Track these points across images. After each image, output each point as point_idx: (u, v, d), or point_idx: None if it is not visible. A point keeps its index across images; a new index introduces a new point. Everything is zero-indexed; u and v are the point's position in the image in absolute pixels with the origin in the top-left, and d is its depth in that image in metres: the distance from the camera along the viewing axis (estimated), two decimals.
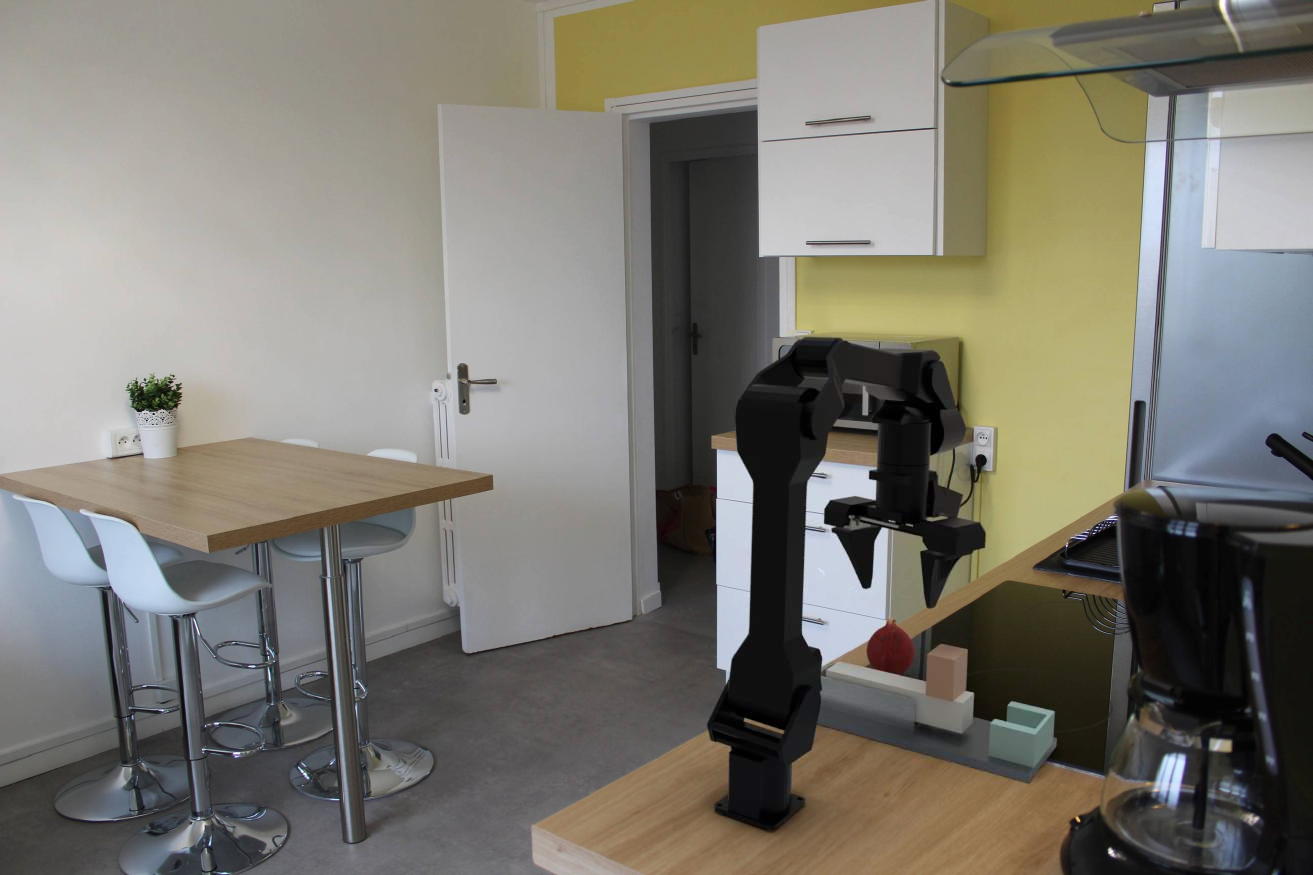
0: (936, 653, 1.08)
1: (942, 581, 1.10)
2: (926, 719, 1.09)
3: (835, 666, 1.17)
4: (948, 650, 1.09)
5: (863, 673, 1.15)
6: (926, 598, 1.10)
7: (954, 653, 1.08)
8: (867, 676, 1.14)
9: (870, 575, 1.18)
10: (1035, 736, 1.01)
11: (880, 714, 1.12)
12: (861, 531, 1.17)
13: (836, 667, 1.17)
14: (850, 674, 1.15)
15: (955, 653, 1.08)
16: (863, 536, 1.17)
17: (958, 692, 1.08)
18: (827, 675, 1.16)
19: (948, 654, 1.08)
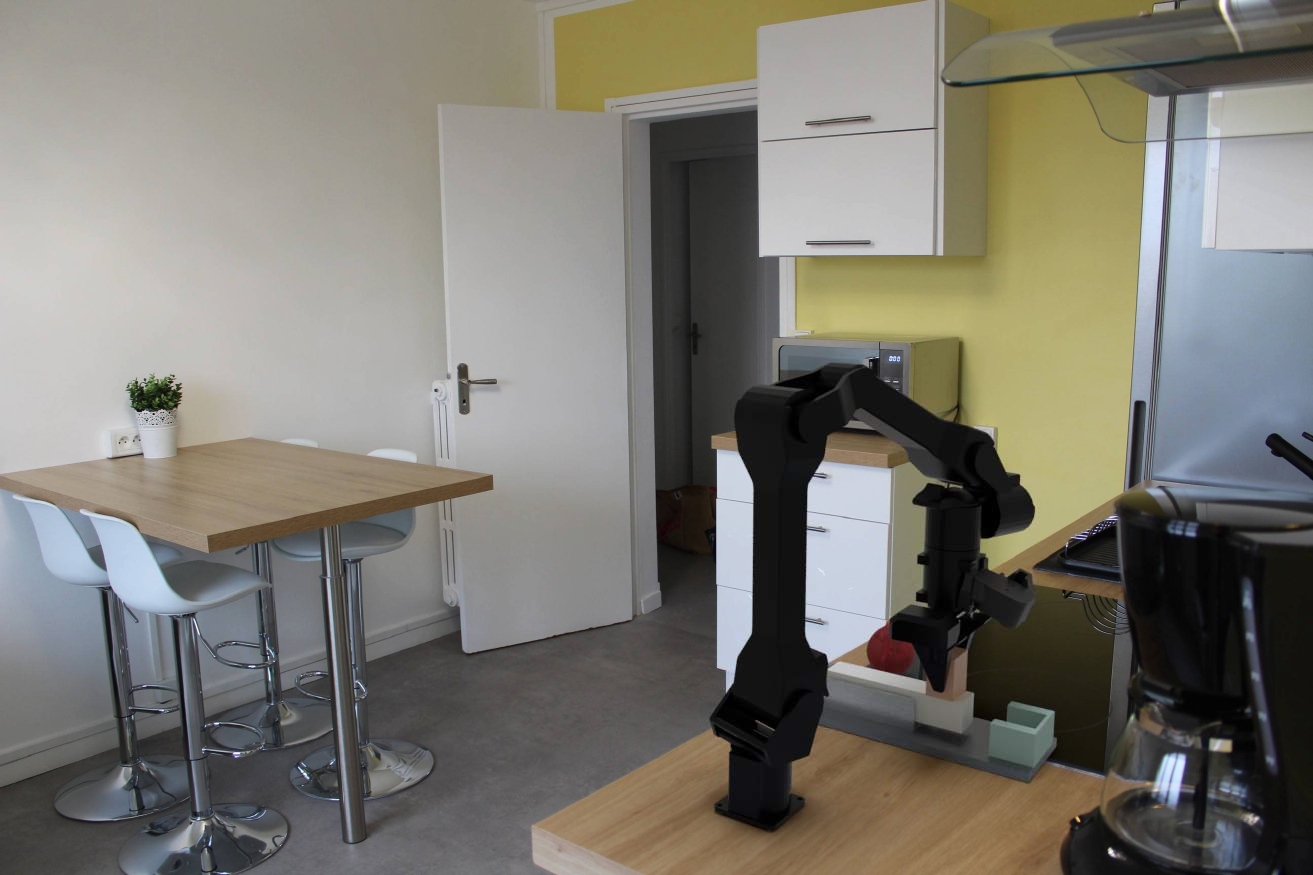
0: None
1: (939, 666, 1.06)
2: (926, 719, 1.09)
3: (835, 666, 1.17)
4: None
5: (863, 673, 1.15)
6: None
7: (954, 653, 1.08)
8: (867, 676, 1.14)
9: None
10: (1035, 736, 1.01)
11: (880, 714, 1.12)
12: None
13: (836, 667, 1.17)
14: (850, 674, 1.15)
15: (955, 653, 1.08)
16: None
17: (958, 692, 1.08)
18: (827, 675, 1.16)
19: None
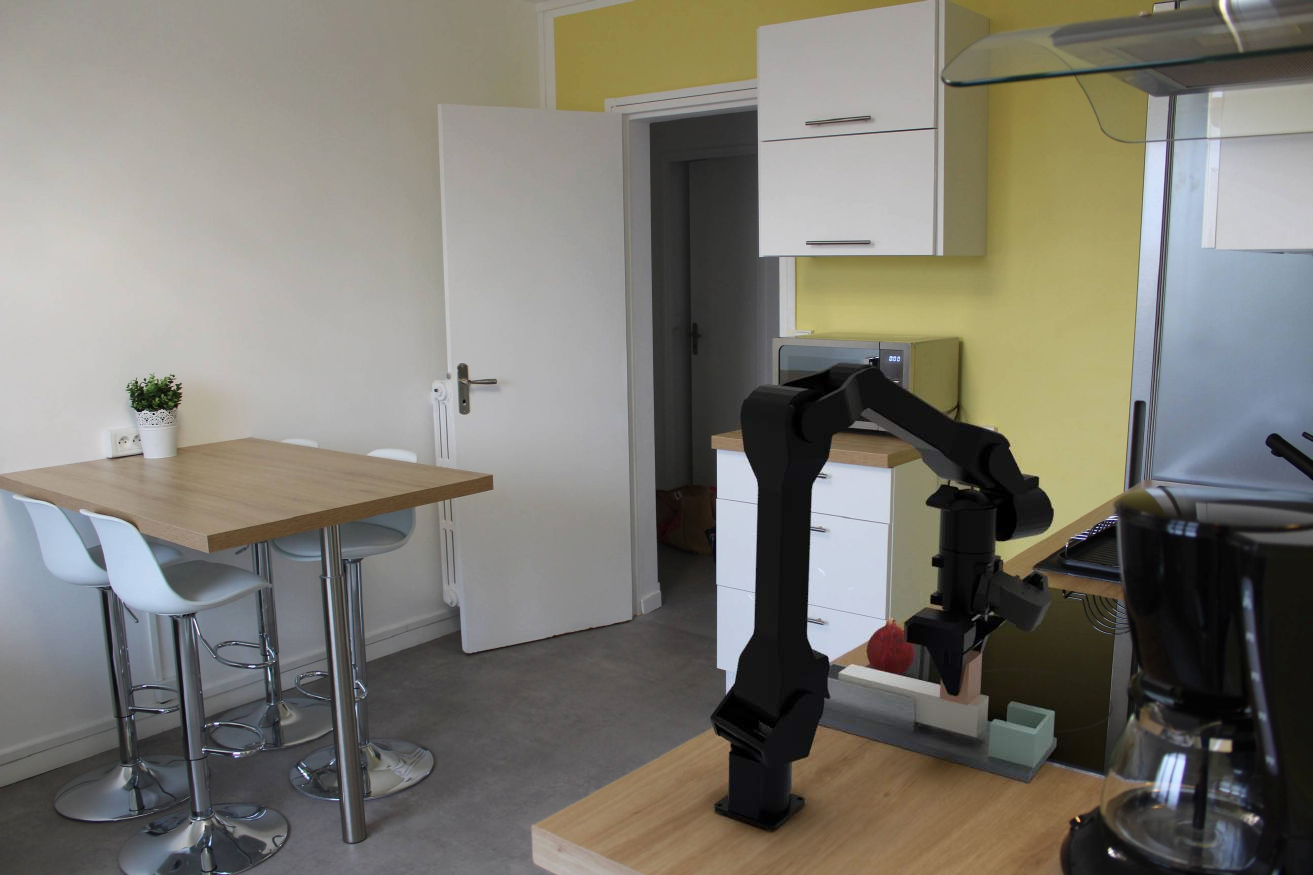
0: None
1: (953, 670, 1.05)
2: (940, 723, 1.08)
3: (848, 669, 1.16)
4: None
5: (876, 676, 1.14)
6: None
7: (968, 656, 1.07)
8: (880, 679, 1.13)
9: None
10: (1035, 736, 1.01)
11: (880, 714, 1.12)
12: None
13: (848, 670, 1.16)
14: (863, 677, 1.14)
15: (970, 656, 1.07)
16: None
17: (973, 695, 1.07)
18: (839, 678, 1.15)
19: None
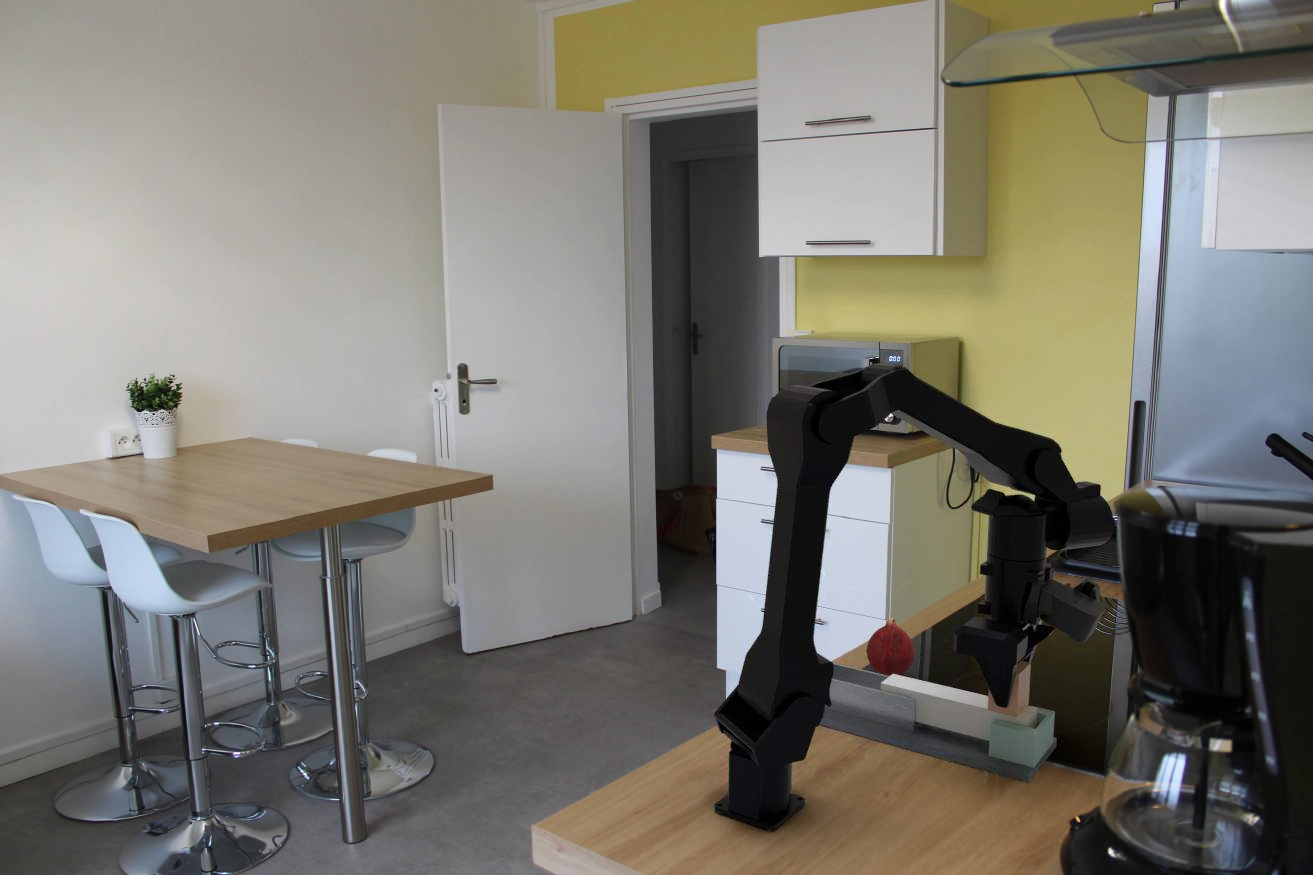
0: None
1: (1003, 681, 1.02)
2: (988, 735, 1.05)
3: (889, 679, 1.13)
4: None
5: (919, 686, 1.11)
6: None
7: (1017, 667, 1.04)
8: (924, 690, 1.10)
9: None
10: (1035, 736, 1.01)
11: (880, 714, 1.12)
12: None
13: (891, 680, 1.13)
14: (906, 688, 1.11)
15: (1018, 666, 1.04)
16: None
17: (1022, 707, 1.04)
18: (882, 688, 1.12)
19: None
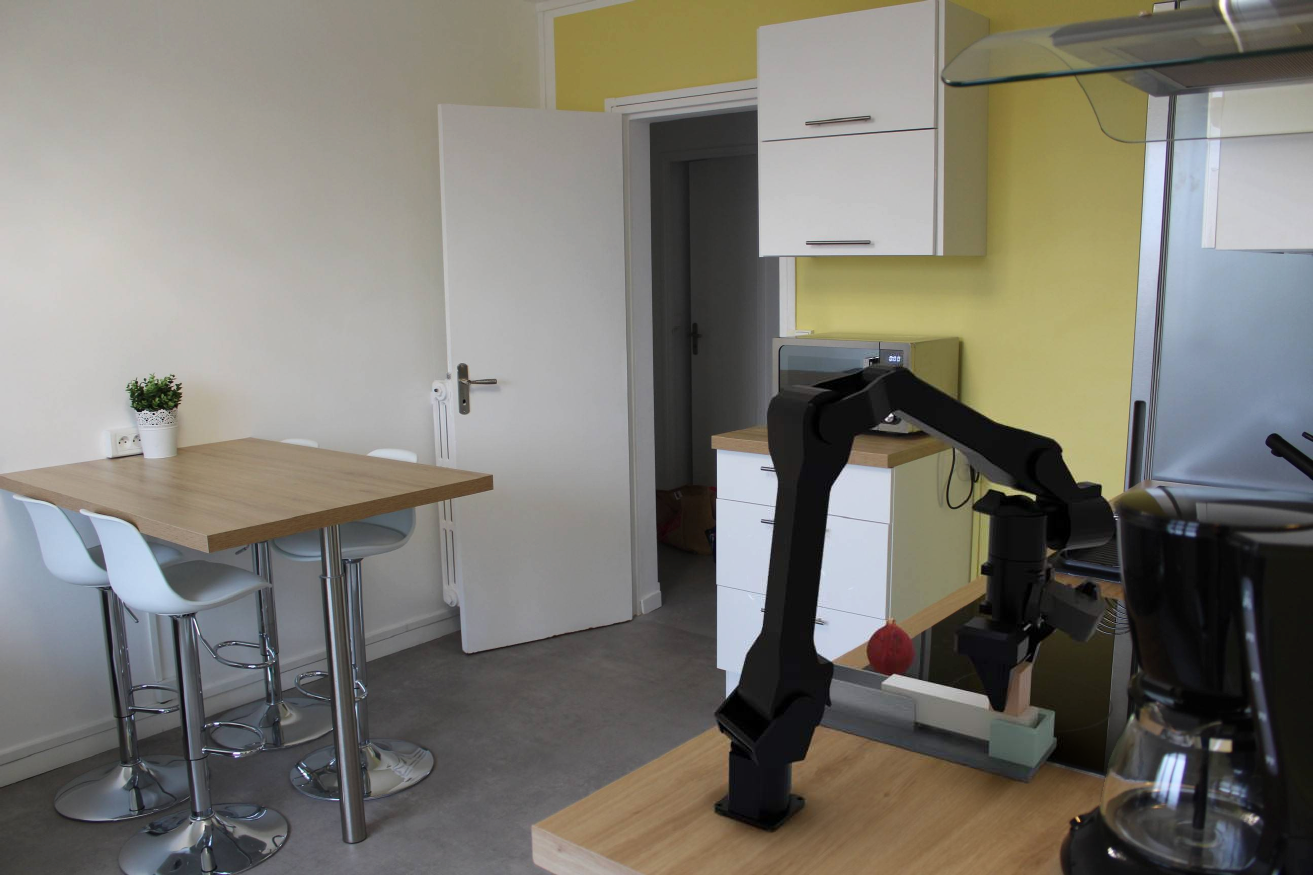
0: None
1: (1000, 685, 1.01)
2: (989, 735, 1.05)
3: (890, 679, 1.13)
4: None
5: (920, 687, 1.11)
6: None
7: (1018, 667, 1.04)
8: (925, 690, 1.10)
9: None
10: (1035, 736, 1.01)
11: (880, 714, 1.12)
12: None
13: (891, 680, 1.13)
14: (907, 688, 1.11)
15: (1019, 667, 1.04)
16: None
17: (1023, 707, 1.04)
18: (882, 689, 1.12)
19: None
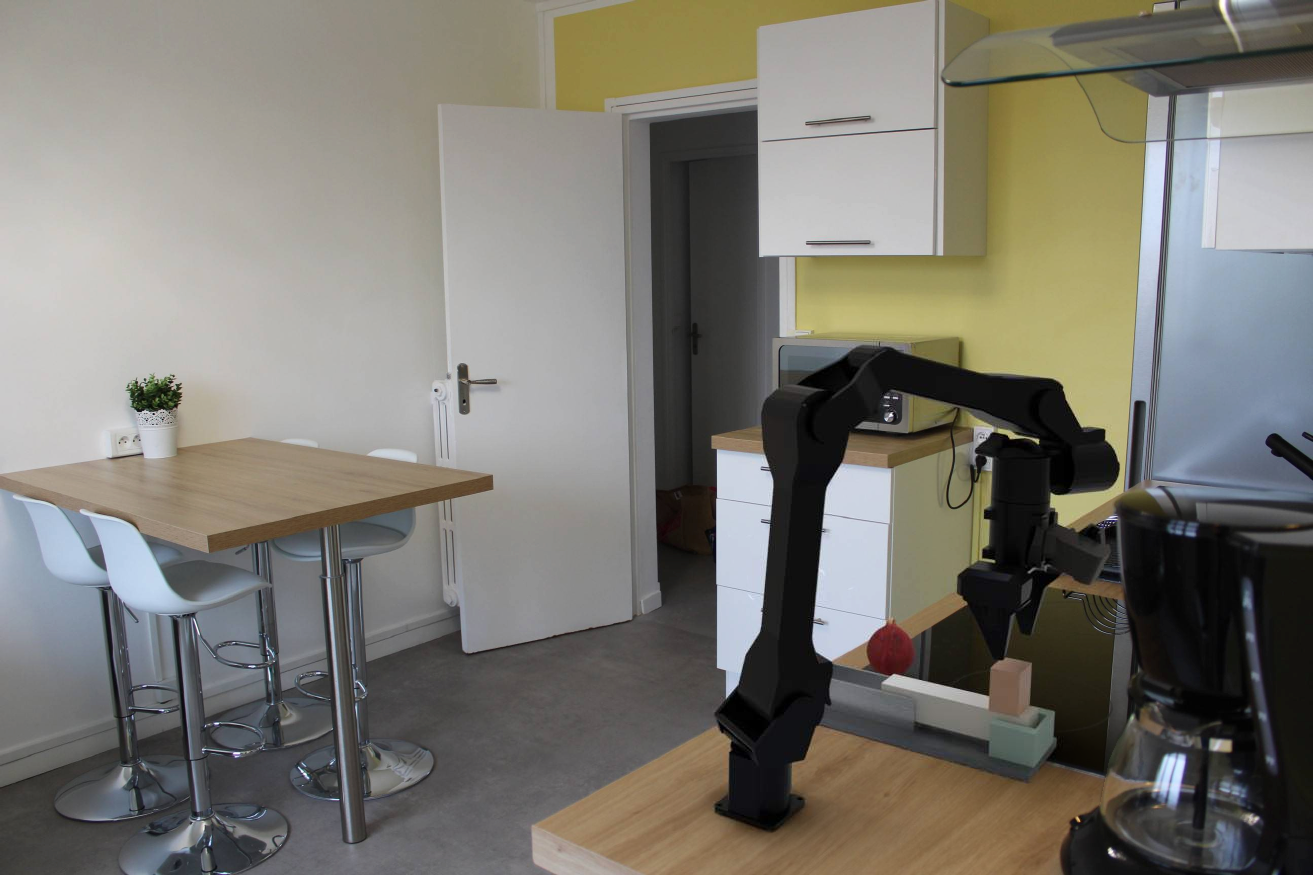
0: (1000, 667, 1.04)
1: (999, 632, 0.99)
2: (989, 735, 1.05)
3: (890, 679, 1.13)
4: (1012, 663, 1.05)
5: (920, 687, 1.11)
6: None
7: (1018, 667, 1.04)
8: (925, 690, 1.10)
9: (1030, 621, 1.08)
10: (1035, 736, 1.01)
11: (880, 714, 1.12)
12: None
13: (891, 680, 1.13)
14: (907, 688, 1.11)
15: (1019, 667, 1.04)
16: None
17: (1023, 707, 1.04)
18: (882, 689, 1.12)
19: (1012, 668, 1.04)
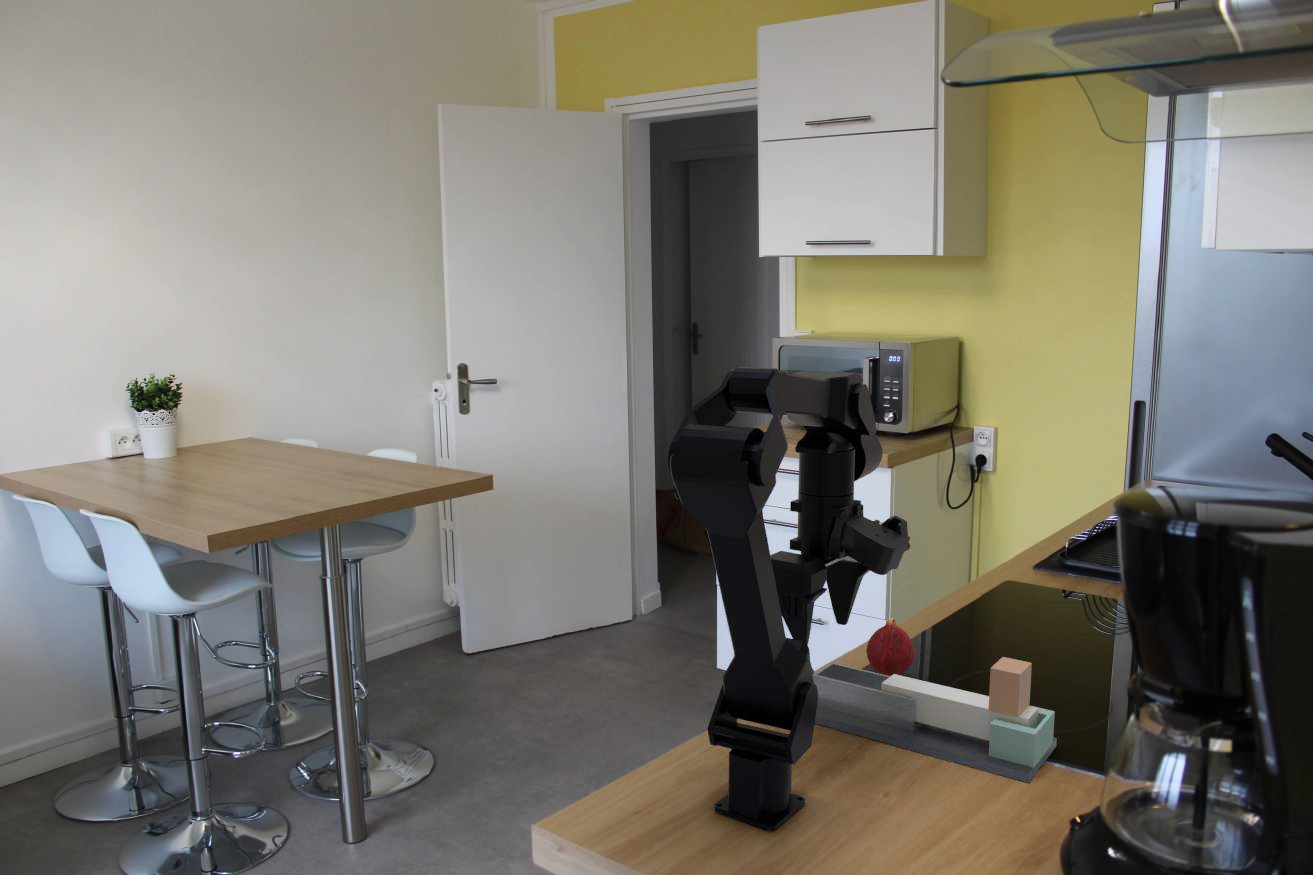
0: (1000, 667, 1.04)
1: (800, 621, 1.02)
2: (989, 735, 1.05)
3: (890, 679, 1.13)
4: (1012, 663, 1.05)
5: (920, 687, 1.11)
6: None
7: (1018, 667, 1.04)
8: (925, 690, 1.10)
9: (844, 611, 1.11)
10: (1035, 736, 1.01)
11: (880, 714, 1.12)
12: (840, 562, 1.11)
13: (891, 680, 1.13)
14: (907, 688, 1.11)
15: (1019, 667, 1.04)
16: (842, 568, 1.11)
17: (1023, 707, 1.04)
18: (882, 689, 1.12)
19: (1012, 668, 1.04)
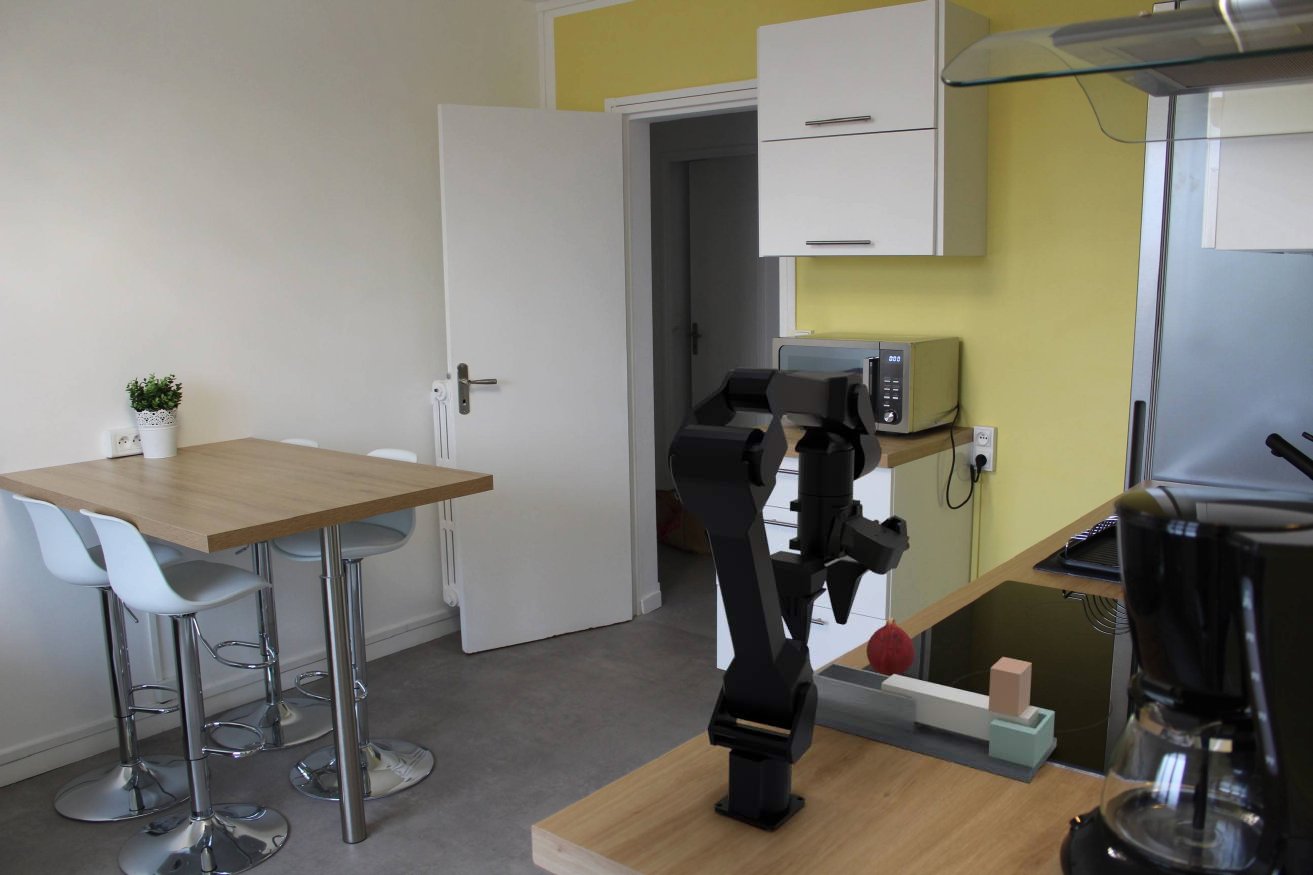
0: (1000, 667, 1.04)
1: (799, 621, 1.02)
2: (989, 735, 1.05)
3: (890, 679, 1.13)
4: (1012, 663, 1.05)
5: (920, 687, 1.11)
6: None
7: (1018, 667, 1.04)
8: (925, 690, 1.10)
9: (844, 611, 1.11)
10: (1035, 736, 1.01)
11: (880, 714, 1.12)
12: (839, 562, 1.11)
13: (891, 680, 1.13)
14: (907, 688, 1.11)
15: (1019, 667, 1.04)
16: (841, 568, 1.11)
17: (1023, 707, 1.04)
18: (882, 689, 1.12)
19: (1012, 668, 1.04)
